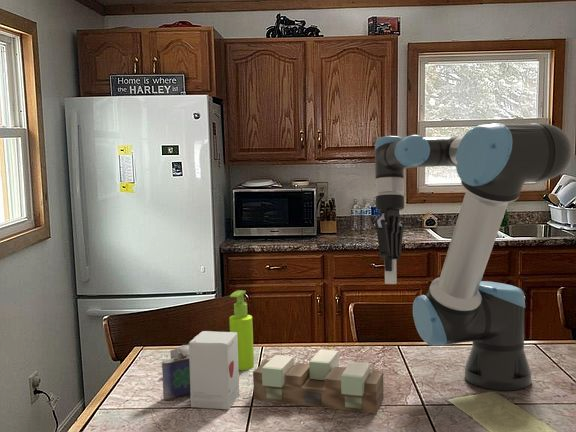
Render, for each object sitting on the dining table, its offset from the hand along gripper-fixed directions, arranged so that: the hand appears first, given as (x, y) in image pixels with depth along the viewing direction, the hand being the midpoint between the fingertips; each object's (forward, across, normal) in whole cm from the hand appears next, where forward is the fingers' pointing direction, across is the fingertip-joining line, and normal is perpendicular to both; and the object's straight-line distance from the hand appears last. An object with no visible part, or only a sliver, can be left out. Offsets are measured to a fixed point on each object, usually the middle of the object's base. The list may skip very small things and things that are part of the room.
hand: (390, 283), depth 169 cm
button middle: (+20, +26, -4) cm, 33 cm away
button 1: (+21, +35, -11) cm, 42 cm away
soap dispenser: (+22, +24, -31) cm, 45 cm away
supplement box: (+26, +44, -22) cm, 55 cm away
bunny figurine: (+22, +30, -44) cm, 58 cm away
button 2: (+22, +29, +6) cm, 37 cm away
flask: (+26, +46, -31) cm, 60 cm away
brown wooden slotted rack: (+25, +31, -3) cm, 40 cm away
